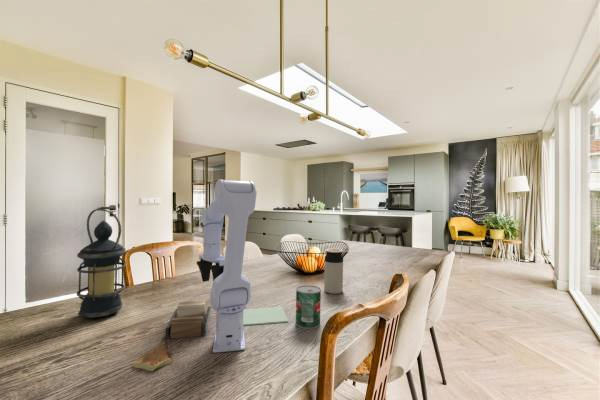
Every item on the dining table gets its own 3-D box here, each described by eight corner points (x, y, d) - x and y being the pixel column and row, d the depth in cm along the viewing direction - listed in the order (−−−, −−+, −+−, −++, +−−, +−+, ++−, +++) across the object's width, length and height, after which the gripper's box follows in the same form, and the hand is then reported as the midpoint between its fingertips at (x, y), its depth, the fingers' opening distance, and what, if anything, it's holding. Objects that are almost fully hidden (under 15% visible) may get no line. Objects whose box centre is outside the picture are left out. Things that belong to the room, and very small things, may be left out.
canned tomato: (292, 320, 90) (292, 286, 90) (314, 317, 92) (314, 284, 92) (300, 330, 82) (301, 294, 82) (324, 327, 85) (325, 291, 85)
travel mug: (345, 293, 118) (346, 251, 118) (329, 295, 115) (330, 252, 115) (336, 287, 125) (337, 248, 125) (321, 289, 122) (321, 248, 122)
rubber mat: (288, 322, 88) (288, 320, 88) (223, 327, 83) (223, 325, 83) (282, 307, 100) (282, 306, 100) (225, 311, 95) (225, 310, 95)
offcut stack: (201, 335, 78) (202, 320, 78) (169, 338, 76) (170, 322, 76) (203, 328, 82) (203, 313, 82) (173, 331, 80) (173, 315, 80)
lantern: (135, 309, 96) (137, 208, 96) (98, 325, 83) (101, 209, 83) (103, 304, 99) (106, 207, 100) (63, 319, 87) (66, 208, 87)
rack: (205, 335, 78) (205, 325, 78) (165, 339, 76) (165, 328, 76) (210, 315, 92) (210, 306, 92) (176, 317, 89) (176, 308, 89)
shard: (165, 345, 73) (165, 338, 73) (190, 350, 71) (190, 343, 71) (130, 368, 63) (131, 361, 63) (158, 374, 61) (158, 366, 61)
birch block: (204, 323, 86) (204, 304, 86) (176, 325, 84) (177, 305, 84) (205, 318, 90) (206, 299, 90) (179, 320, 88) (180, 301, 88)
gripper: (234, 244, 92) (233, 285, 92) (212, 240, 102) (211, 277, 102) (215, 246, 87) (214, 290, 86) (193, 242, 97) (192, 280, 96)
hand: (211, 283), depth 94 cm, fingers open, 7 cm apart
